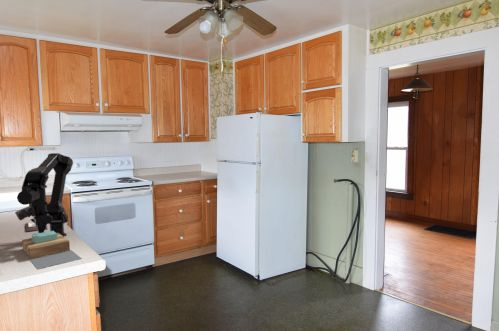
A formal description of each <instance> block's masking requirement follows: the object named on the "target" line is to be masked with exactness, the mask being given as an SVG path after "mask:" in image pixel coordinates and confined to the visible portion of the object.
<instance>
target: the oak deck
mask: <svg viewBox="0 0 499 331" xmlns="http://www.w3.org/2000/svg"><path fill="white" fill-rule="evenodd" d="M21 241H22V244H21V245H22V250H23V251H24V253H26V254H27V256H28V257H29V259H34V258H39V257H43V256H48V255H52V254H57V253H61V252H66V251H70V250H71V246H70V240H69V239H67V238H66V237H65V236H62V235H61V234H59V233H57V240H52V241H47V242H42V243H37V244H35V243H34V242H33V241H32V237H29V238H25V239H22V240H21Z"/></svg>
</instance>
